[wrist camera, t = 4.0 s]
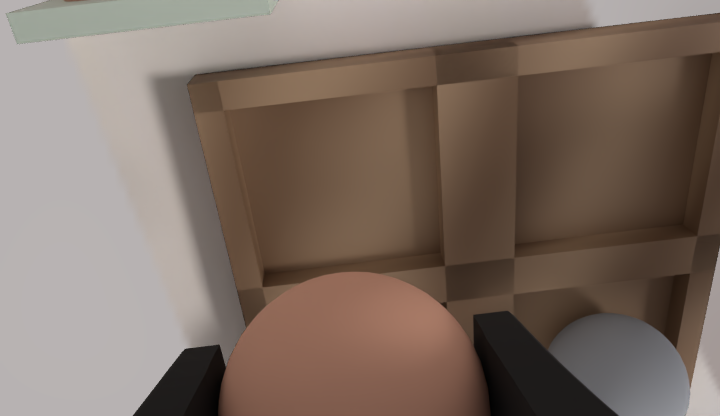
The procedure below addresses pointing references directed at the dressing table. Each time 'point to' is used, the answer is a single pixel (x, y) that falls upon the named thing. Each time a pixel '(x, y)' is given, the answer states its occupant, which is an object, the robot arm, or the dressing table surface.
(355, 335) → the terracotta ball
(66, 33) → the card
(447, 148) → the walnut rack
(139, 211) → the dressing table surface
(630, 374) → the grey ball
